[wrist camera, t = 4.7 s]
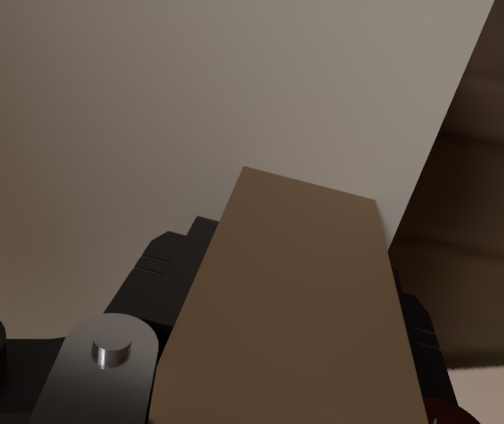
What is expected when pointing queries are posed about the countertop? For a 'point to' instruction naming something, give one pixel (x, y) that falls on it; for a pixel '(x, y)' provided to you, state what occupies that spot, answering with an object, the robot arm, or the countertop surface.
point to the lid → (229, 186)
